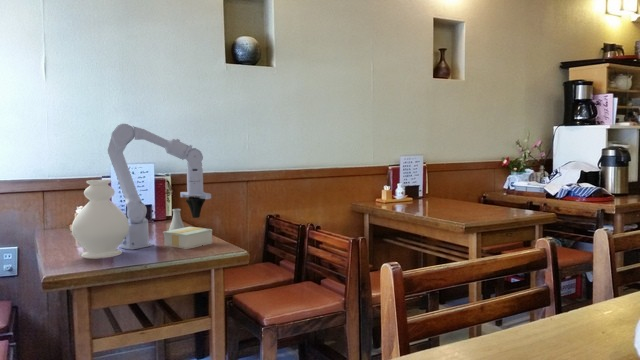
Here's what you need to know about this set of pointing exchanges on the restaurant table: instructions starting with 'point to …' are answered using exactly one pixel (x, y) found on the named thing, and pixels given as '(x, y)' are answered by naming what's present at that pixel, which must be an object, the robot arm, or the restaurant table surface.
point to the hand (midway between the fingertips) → (196, 217)
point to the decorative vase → (100, 222)
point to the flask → (176, 220)
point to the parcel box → (188, 240)
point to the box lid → (187, 231)
